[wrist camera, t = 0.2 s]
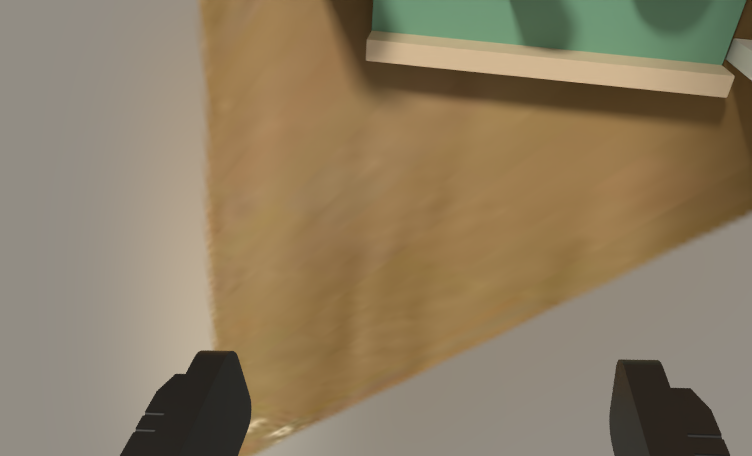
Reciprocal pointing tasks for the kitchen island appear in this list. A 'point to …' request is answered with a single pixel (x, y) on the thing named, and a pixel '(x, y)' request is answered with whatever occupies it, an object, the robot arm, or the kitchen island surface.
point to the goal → (741, 56)
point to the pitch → (565, 40)
